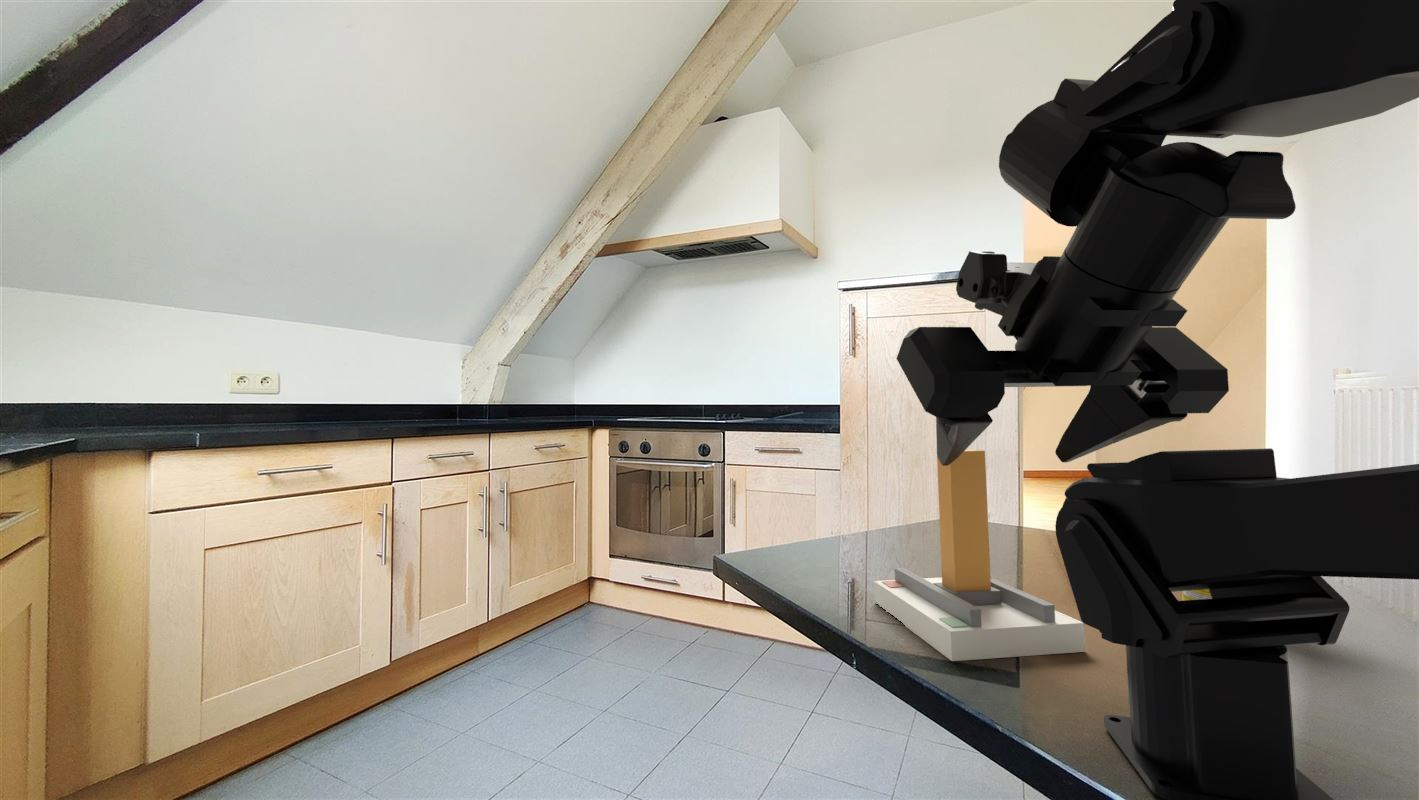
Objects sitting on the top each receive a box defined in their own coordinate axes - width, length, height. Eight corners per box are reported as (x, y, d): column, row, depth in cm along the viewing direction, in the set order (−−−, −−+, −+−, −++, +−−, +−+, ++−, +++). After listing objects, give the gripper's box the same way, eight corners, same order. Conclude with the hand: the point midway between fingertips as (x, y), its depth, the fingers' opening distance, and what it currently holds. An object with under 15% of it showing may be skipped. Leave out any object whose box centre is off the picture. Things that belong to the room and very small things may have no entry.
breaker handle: (1001, 603, 44) (994, 450, 45) (953, 606, 44) (947, 452, 44) (979, 592, 47) (972, 449, 48) (933, 595, 47) (928, 450, 47)
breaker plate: (1085, 651, 40) (1082, 605, 40) (951, 661, 38) (949, 613, 39) (977, 597, 52) (975, 562, 53) (874, 603, 51) (873, 567, 51)
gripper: (1172, 207, 37) (1059, 385, 48) (904, 200, 35) (847, 388, 46) (1323, 297, 29) (1146, 488, 39) (985, 294, 27) (892, 497, 37)
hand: (1001, 459), depth 41 cm, fingers open, 9 cm apart
